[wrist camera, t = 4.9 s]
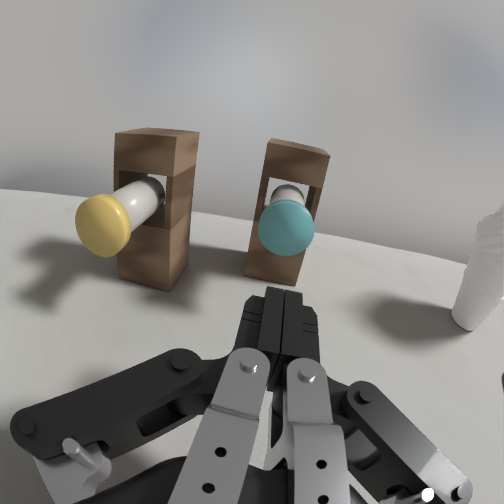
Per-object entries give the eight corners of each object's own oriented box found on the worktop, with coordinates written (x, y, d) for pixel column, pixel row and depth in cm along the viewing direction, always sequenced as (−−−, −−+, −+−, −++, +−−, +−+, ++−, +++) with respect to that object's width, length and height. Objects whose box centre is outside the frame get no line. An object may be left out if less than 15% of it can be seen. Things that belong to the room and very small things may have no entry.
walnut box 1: (119, 277, 23) (115, 133, 17) (143, 252, 28) (146, 127, 22) (169, 291, 23) (177, 136, 17) (187, 263, 28) (199, 132, 21)
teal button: (253, 249, 19) (263, 198, 18) (263, 215, 25) (270, 176, 24) (306, 260, 19) (320, 210, 17) (303, 223, 25) (312, 185, 24)
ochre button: (79, 250, 15) (72, 195, 14) (129, 212, 22) (129, 169, 20) (124, 263, 15) (121, 203, 13) (168, 220, 21) (171, 174, 20)
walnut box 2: (243, 275, 27) (267, 142, 21) (250, 252, 32) (271, 138, 25) (295, 286, 27) (330, 155, 21) (295, 261, 31) (323, 149, 25)
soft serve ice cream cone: (490, 327, 24) (544, 219, 17) (478, 353, 20) (549, 221, 13) (449, 294, 30) (494, 187, 23) (429, 312, 26) (486, 181, 19)
